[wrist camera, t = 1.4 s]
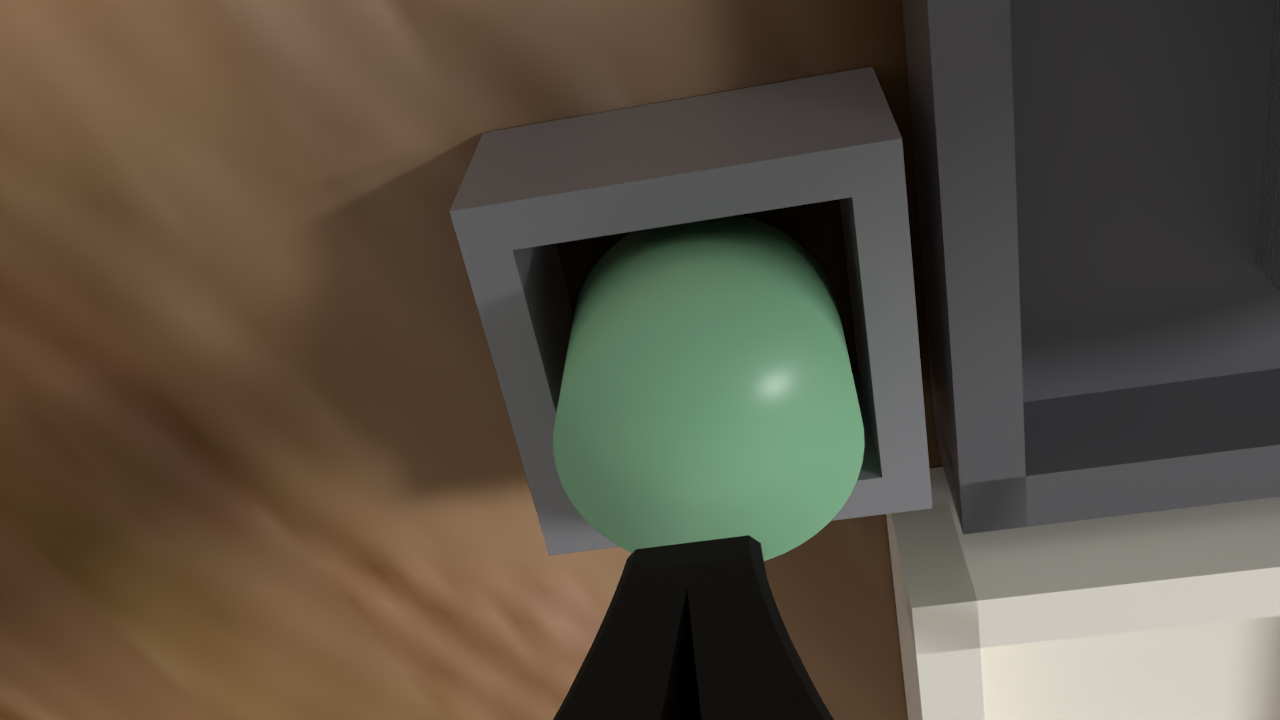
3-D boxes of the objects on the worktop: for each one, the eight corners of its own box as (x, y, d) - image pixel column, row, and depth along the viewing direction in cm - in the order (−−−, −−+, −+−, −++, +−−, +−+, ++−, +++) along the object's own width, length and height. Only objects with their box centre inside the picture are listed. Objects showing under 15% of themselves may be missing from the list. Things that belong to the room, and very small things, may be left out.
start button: (824, 191, 17) (848, 291, 14) (853, 426, 19) (878, 551, 16) (546, 234, 17) (520, 339, 15) (602, 459, 19) (588, 584, 17)
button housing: (872, 66, 18) (902, 137, 15) (903, 400, 21) (932, 508, 18) (482, 132, 19) (449, 211, 16) (566, 446, 22) (549, 555, 19)
